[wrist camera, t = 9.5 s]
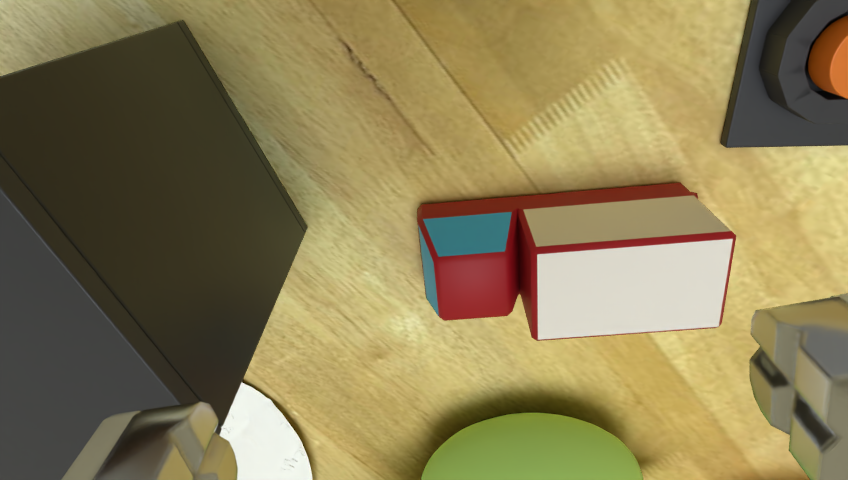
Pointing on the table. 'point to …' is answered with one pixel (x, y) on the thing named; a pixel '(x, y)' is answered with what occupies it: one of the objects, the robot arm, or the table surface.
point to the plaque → (263, 440)
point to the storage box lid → (63, 346)
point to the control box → (784, 79)
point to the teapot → (532, 451)
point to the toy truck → (580, 260)
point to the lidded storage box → (159, 196)
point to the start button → (831, 59)
